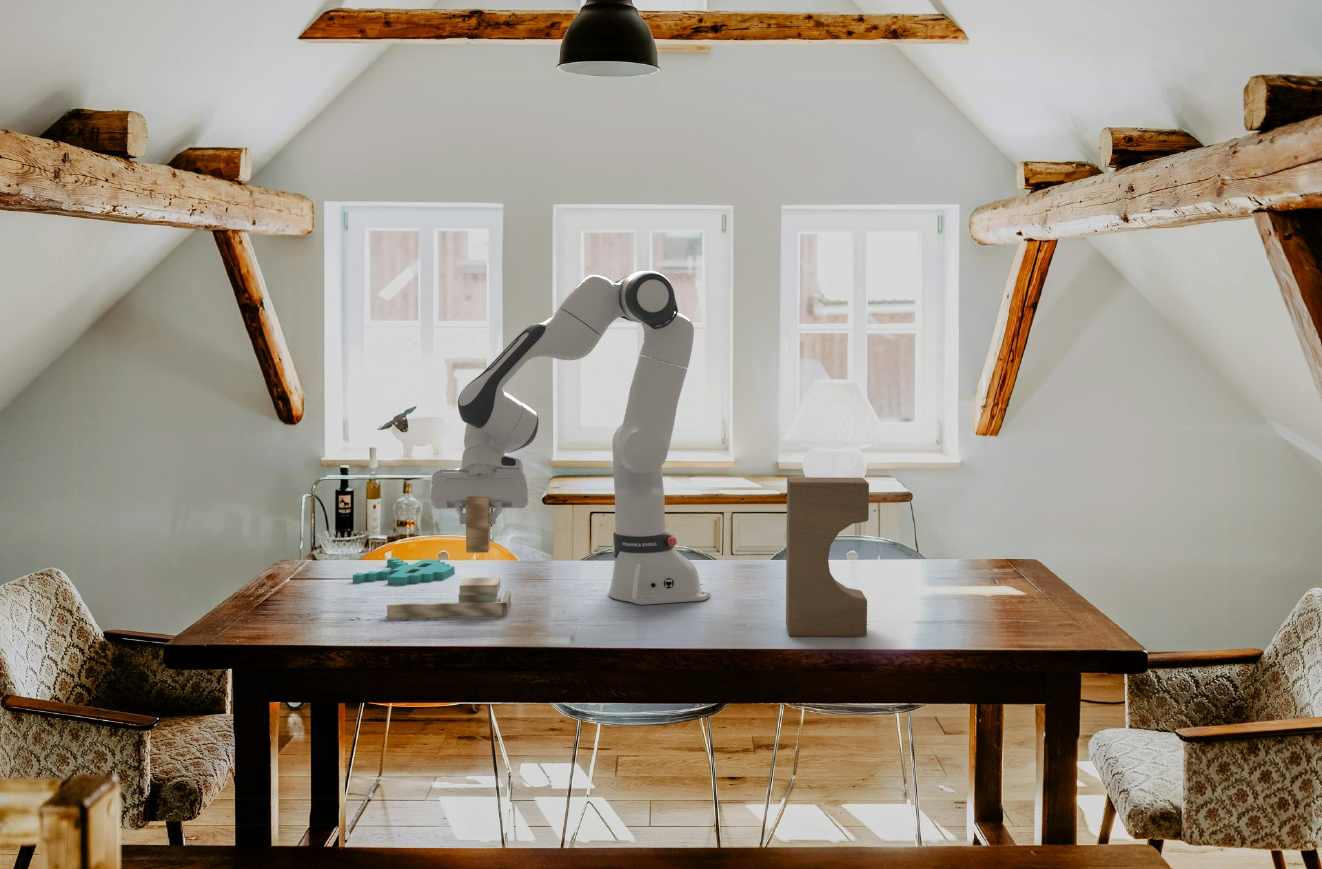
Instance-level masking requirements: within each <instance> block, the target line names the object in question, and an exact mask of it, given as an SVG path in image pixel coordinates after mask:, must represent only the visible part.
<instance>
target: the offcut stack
mask: <svg viewBox="0 0 1322 869" xmlns="http://www.w3.org/2000/svg"><path fill="white" fill-rule="evenodd" d="M500 588H501V577H500V576H499V577H496V576H495V577H463V578H462V580H461V583H460V584H459V594H458V603H463V602H502V601H501V600H502V598H501V596H502V595H498V594H499V592H500Z"/></svg>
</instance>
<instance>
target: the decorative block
mask: <svg viewBox="0 0 1322 869" xmlns="http://www.w3.org/2000/svg"><path fill="white" fill-rule="evenodd" d="M869 498H870V483H869V482H868V481H867V480H866V478H865V479H864V477H813V476H811V477H807V476H806V477H805V476H804V477H798V476H797V477H791V476H790V477H787V478H786V554H785V555H786V556H785V557H786V566H785V567H786V570H785V571H786V573H785V579H786V580H785V584H786V587H785V589H786V590H785V626H786V630H787V634H788V636H789V637H836V638H837V637H839V638H840V637H843V638H844V637H845V638H847V637H848V638H851V637H852V638H856V637H857V638H861V637H862V638H865V637H867V635H868V634H867V633H868V599H867V598H866V596H865V595H864V592H863V591H862V590H861V589H855V588H850V587H847V586H845V585H844V584H842V583H840V582H839V581H837V580H836V579H835V578H834V576H833V574H832V573H831V569H830V563H829V556H830V552H831V551H830V550H831V546H832V544H833V542H834V540H835V539H836V538H837V536H838V535H839V533H841V532H842V531H844V530H846V528H848V527H850V526H851V525H853V524H859V523H864V522H868V521H869V517H870V516H869V508H870V507H869V506H870V503H869V501H870V499H869Z"/></svg>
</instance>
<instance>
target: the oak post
mask: <svg viewBox="0 0 1322 869" xmlns="http://www.w3.org/2000/svg"><path fill="white" fill-rule="evenodd" d="M465 500H466V508H465V513H466V524H465V550H466V551H465V552H466V554H468V553H469V554H470V553H473V554H474V553H477V554H479V553H483V554H484V553H485V554H486V553H489V551H490V549H491V524H489V522H488V517H489V516H488V514H489V513H491V512H490V509H491V508H490V501H489V496H468V497H467V498H466V499H465Z"/></svg>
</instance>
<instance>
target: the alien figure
mask: <svg viewBox="0 0 1322 869" xmlns="http://www.w3.org/2000/svg"><path fill="white" fill-rule="evenodd" d="M386 565H387V567H388V568H389V567H391V569H382V570H379V571H371V570H370V571H368V572H366V573H364V572H356V573H354V574H352V583H354V584H356V583H357V584H358V583H361V584H362V583H364V581H365V582H375V581H378V580H387V585H395V586H396V585H398V586H401V585H402V586H407V585H408V584H420V583H422V582H433V581H435V580H440V581H441V580H443V581H444V580H446V579H448V578H450V577H451V576H453V575H455V570H456V569H455V566H451V565H450V563H446V562H445V561H441V560H440V559H428V558H427V559H426V558H423V559H421V560H420V561H417V562H414V563H412V564H409V563H408V562H406V561H405V562H404V560H401V559H400V558H399V557H390V558H387V560H386ZM432 580H433V581H432ZM421 581H422V582H421Z"/></svg>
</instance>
